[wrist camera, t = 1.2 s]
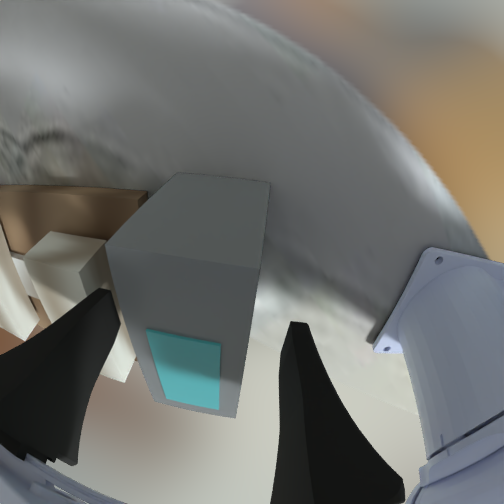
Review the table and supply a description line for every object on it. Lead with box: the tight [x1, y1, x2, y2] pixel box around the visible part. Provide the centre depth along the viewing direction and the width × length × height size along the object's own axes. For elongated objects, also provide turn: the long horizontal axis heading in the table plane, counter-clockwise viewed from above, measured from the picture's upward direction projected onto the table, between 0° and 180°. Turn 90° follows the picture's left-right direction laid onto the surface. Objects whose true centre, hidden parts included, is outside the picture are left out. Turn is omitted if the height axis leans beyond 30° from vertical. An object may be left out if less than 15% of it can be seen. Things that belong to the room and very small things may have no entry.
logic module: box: [105, 173, 271, 418], centre depth 11 cm, size 4×9×6 cm, turn 174°
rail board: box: [0, 185, 148, 382], centre depth 14 cm, size 17×13×4 cm
